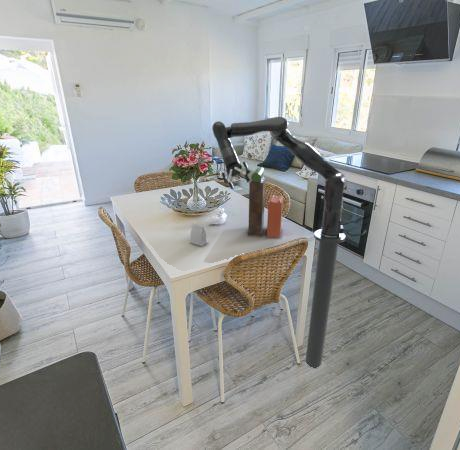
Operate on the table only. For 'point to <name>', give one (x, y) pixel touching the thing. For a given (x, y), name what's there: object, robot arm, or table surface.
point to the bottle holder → (274, 216)
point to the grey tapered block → (198, 235)
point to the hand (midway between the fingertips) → (240, 185)
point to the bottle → (257, 174)
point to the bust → (218, 217)
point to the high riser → (256, 207)
